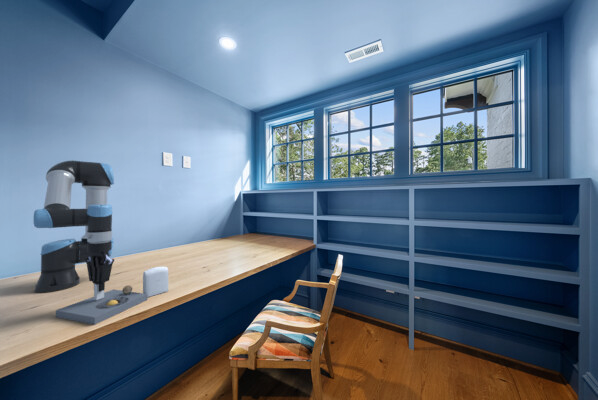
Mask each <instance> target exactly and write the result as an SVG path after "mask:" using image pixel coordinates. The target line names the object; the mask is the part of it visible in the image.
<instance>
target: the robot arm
mask: <svg viewBox="0 0 598 400" xmlns="http://www.w3.org/2000/svg"><path fill="white" fill-rule="evenodd" d="M45 181H46V182H47V186H46V193H45V199H44V204H43V205H44V206H43V208H41V209H35V210H34V212H33V217H32V219H33V220H32V221H33V225H34V228H36V229H54V228H70V227H71V228H72V227H85V233H84V235H82V236H81V238H80V239H81V240H77V241H76V239H75V238H67V239H61V240H55V241H50V242H47V243H44V244H43V245H42V246H41V250H40V251H41V252H40V256H41V258H40V276H39V278H38V280H37V282H36V284H35V287H34V292H35V293H42V294H43V293H51V292H52V293H53V292H57V291H62V290H65V289H69V288H72V287H75V286H77V285H79V284H80V283H81V280H80V276H79V274H78V272H77V270H76V264H83V263H86V267H87V269H86V270H87V274H88V281H89V282H92V284H93V297H94V300H98V299H101V298H104V293H105V290H106V288H105V283H106V282H108V281H110V277H111V273H112V269H113V264H114V263H115V258H110V257H112V252H113V249H114V238H113V231H112V229H113V228H112V223H113V208H112V207H113V206H112V205H111V204H108V190H109V189H110V188H111V185H114V184H115V177H114V171H113V168H112V166H111V165H110V164H108V163H104V162H103V163H102V162H94V161H93V162H92V161H80V160H66V161H62V162H58V163H56V164H55V165H53V166H52V167H50V168H49V169H48V171H47V172H46V176H45ZM75 183H76V184H81V188H83V189H84V190H85V208H71V202H72V201H71V200H72V185H73V184H75Z"/></svg>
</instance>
